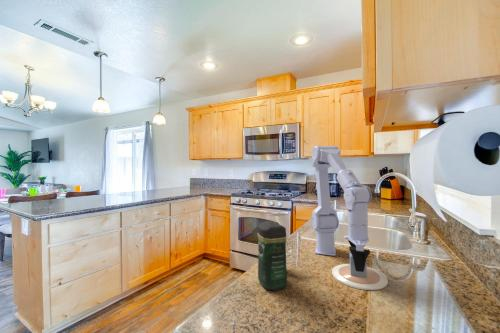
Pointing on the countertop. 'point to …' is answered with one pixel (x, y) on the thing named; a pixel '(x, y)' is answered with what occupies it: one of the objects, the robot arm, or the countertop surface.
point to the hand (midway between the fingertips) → (358, 266)
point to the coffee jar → (272, 255)
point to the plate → (360, 278)
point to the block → (353, 270)
